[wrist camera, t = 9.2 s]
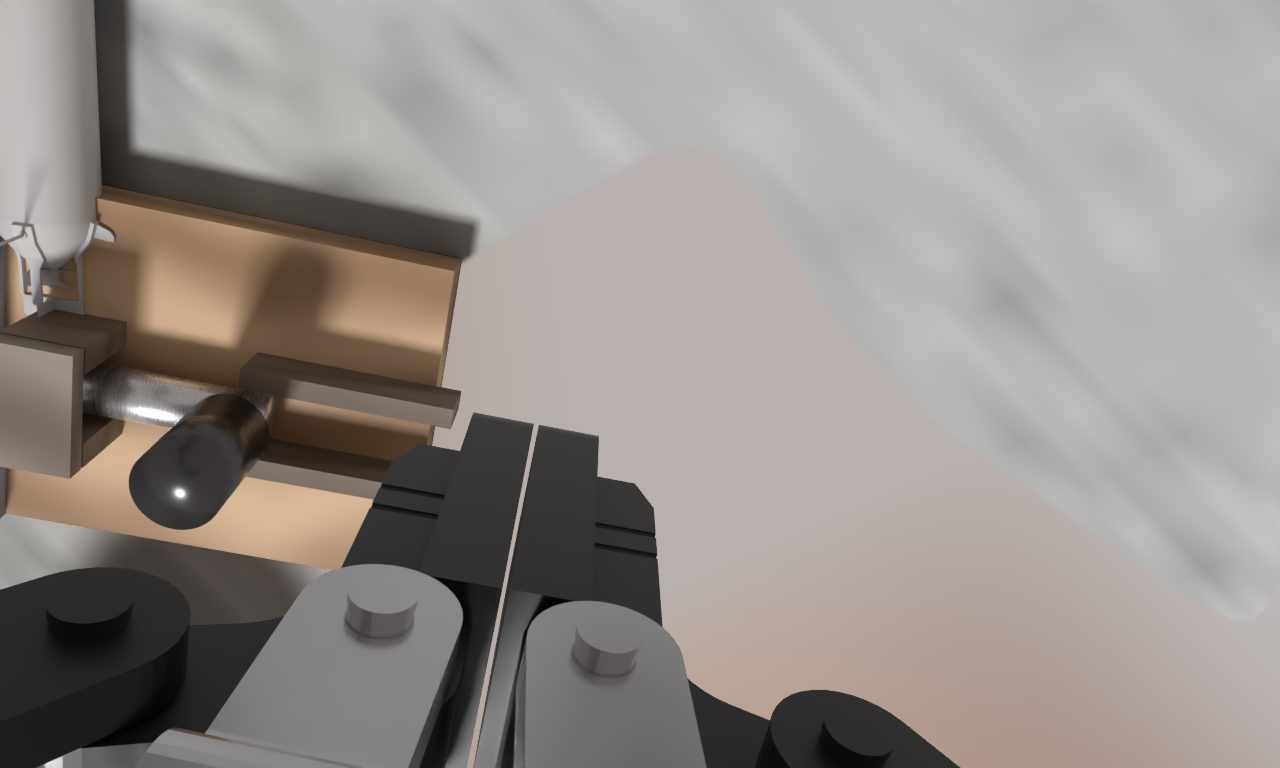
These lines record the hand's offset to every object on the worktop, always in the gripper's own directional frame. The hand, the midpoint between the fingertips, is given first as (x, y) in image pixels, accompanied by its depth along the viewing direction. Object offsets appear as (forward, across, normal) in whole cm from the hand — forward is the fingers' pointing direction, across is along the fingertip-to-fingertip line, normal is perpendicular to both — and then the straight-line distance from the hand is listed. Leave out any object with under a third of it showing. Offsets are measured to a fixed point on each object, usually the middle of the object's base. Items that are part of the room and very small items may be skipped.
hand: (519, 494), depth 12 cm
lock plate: (+28, +14, +12) cm, 34 cm away
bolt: (+26, +14, +12) cm, 32 cm away
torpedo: (+28, +19, +2) cm, 34 cm away
